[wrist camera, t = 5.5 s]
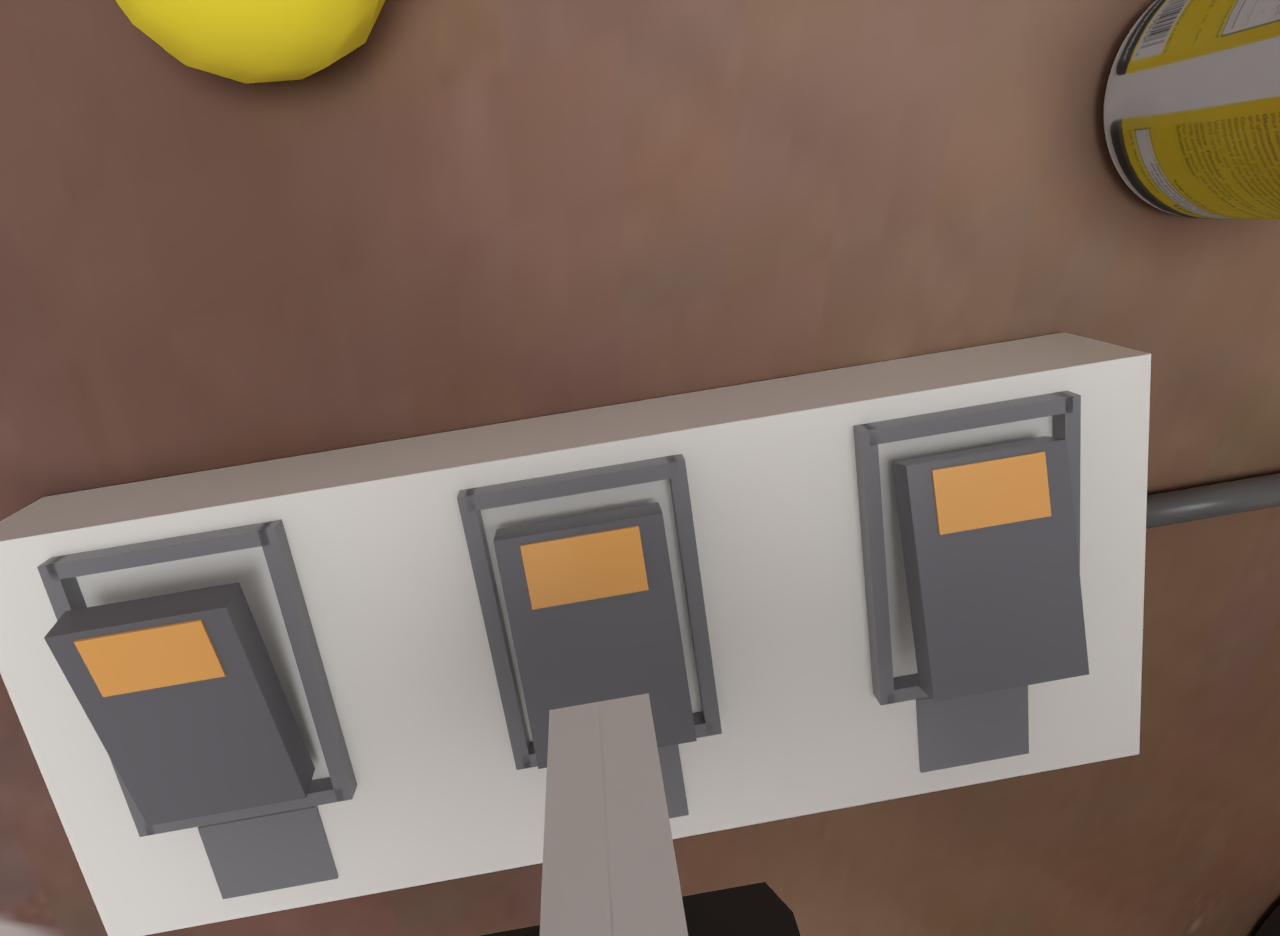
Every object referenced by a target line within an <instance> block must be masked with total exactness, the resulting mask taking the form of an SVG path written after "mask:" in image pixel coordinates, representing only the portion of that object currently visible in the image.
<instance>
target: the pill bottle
mask: <svg viewBox="0 0 1280 936" xmlns="http://www.w3.org/2000/svg"><path fill="white" fill-rule="evenodd" d="M1104 131H1105V137H1106V142H1107V146H1108V150H1109V152H1110V155H1111V158H1112V161H1113V163H1114V165H1115V167H1116V169H1117V171H1118V173H1119V174H1120V176H1121V178H1122V179H1123V180H1124V182H1125V183H1126V184H1127V186H1128V187H1129V188H1130V189H1131V190H1132V191H1133V192H1134V193H1135V194H1136V195H1137V196H1139V197H1140V198H1141V199H1142V200H1144V201H1145V202H1147V203H1148V204H1150V205H1152V206H1153V207H1156V208H1158V209H1160V210H1162V211H1165V212H1167V213H1171V214H1174V215H1178V216H1183V217H1190V218H1205V219H1280V0H1156V1H1155V2H1154V3H1153V4H1152V5H1151V6H1150V7H1149V8H1148V9H1147V10H1146V11H1145V12H1144V13H1143V15H1142V16H1141V17H1140V18H1139V19H1138V21H1137V22H1136V23H1135V25H1134V26H1133V27H1132V29H1131V30H1130V32H1129V33H1128V35H1127V36H1126V38H1125V40H1124V41H1123V43H1122V45H1121V47H1120V49H1119V51H1118V53H1117V56H1116V58H1115V60H1114V63H1113V66H1112V68H1111V72H1110V75H1109V78H1108V83H1107V88H1106V92H1105V99H1104Z"/></svg>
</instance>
